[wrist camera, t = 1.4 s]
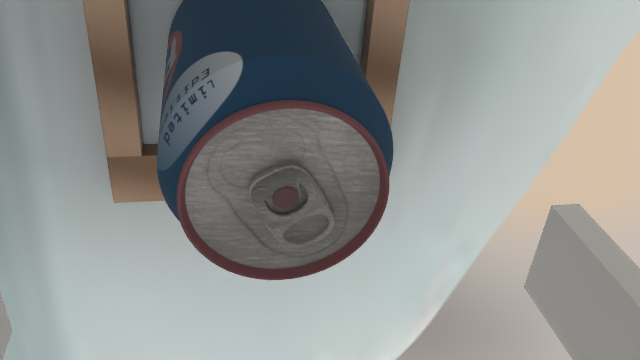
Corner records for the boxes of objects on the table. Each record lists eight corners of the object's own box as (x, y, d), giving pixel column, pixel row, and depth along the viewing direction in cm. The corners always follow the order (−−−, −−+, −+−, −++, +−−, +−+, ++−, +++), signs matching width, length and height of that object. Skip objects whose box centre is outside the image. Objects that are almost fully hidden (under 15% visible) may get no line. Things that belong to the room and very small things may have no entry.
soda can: (135, 9, 24) (94, 165, 14) (286, -74, 23) (352, 30, 13) (223, 137, 28) (238, 328, 18) (354, 69, 27) (444, 231, 17)
